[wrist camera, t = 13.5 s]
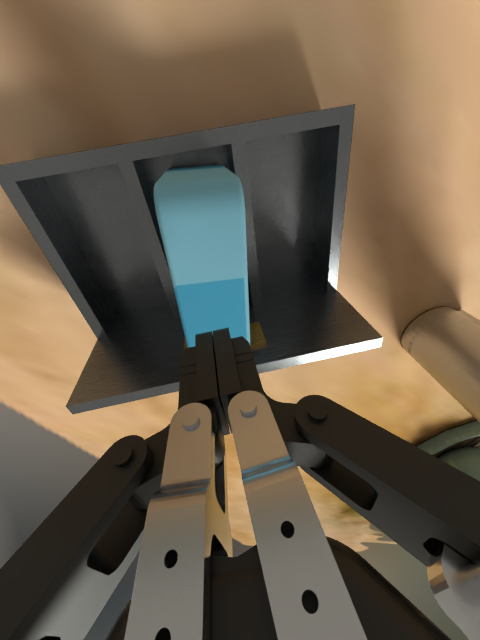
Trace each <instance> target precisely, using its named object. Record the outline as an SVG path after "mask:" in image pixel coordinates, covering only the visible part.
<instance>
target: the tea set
mask: <svg viewBox="0 0 480 640" xmlns="http://www.w3.org/2000/svg"><path fill="white" fill-rule="evenodd" d="M416 447H418V448H420V449H422V450H423V451H425V452H427V453H429V454H431V455H433V456H434V457H436V458H438V459H440V460H442V461H444V462H445V463H447V464H449V465H451V466H453V467H455V468H456V469H458V470H460V471H462V472H464V473H466V474H468V475H469V476H471V477H473V478H475V479H477V480H479V481H480V423H479V422H478V421H474V422H471V423H468V424H465V425H462V426H459V427H456V428H452V429H449V430H446V431H444V432H442V433H440V434H439V435H437V436H435V437H433V438H431V439H429V440H427V441H425V442H424V443H422V444H420V445H418V446H416Z"/></svg>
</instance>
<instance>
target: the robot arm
mask: <svg viewBox="0 0 480 640" xmlns="http://www.w3.org/2000/svg"><path fill="white" fill-rule="evenodd" d="M401 344H402V347H403V348H404V349H405V350H406V351H407V352H408V353H409V354H410V355H411V356H412V357H413V358H414V359H415V360H416V361H417V362H418V363H419V364H420V365H421V366H422V367H423V368H424V369H425V370H426V371H427V372H428V373H429V374H430V375H431V376H432V377H433V378H434V379H435V380H436V381H437V382H438V383H439V384H440V385H441V386H442V387H443V388H444V389H445V390H446V391H447V392H449V393H450V394H451V395H452V396H453V397H454V398H455V399H456V400H457V401H458V402H459V403H460V404H461V405H462V406H463V407H464V408H465V409H466V410H467V411H468V412H469V413H470V414H471V415H472V416H473V417H474V418H475V419H476V420H477V421H478V422H479V423H480V320H478V319H476V318H475V317H473V316H472V315H470V314H468V313H467V312H465V311H463V310H458V311H456V310H454V309H453V308H450V307H439V308H435V309H432V310H429V311H427V312H425V313H424V314H422V315H420V316H419V317H418V318H416V319H415V320H414V321H413V322H412V323H411V324H410V325H409V326H408V327H407V329H406V330H405V332H404V334H403V336H402V340H401ZM180 368H181V369H180V384H179V405H178V411H177V412H176V413H175V414H174V416H173V417H172V419H171V423H170V424H169V425H168V426H167V427H166V428H165V429H163V430H162V431H160V432H158V433H156V434H154V435H153V436H151V437H149V438H147V439H145V440H144V439H143V438H142V437H140V436H137V435H130V436H126V437H124V438H122V439H120V440H118V441H117V442H115V443H114V444H113V445H112V446H111V447H110V448H109V449H108V450H107V451H106V452H105V454H104V455H103V456H102V457H101V458H100V459H99V460H98V461H97V462H96V464H95V465H94V466H93V467H92V468H91V469H90V470H89V471H88V473H87V474H86V475H85V476H84V477H83V478H82V479H81V480H80V481H79V482H78V484H77V485H76V486H75V487H74V488H73V489H72V490H71V491H70V492H69V494H68V495H67V496H66V497H65V498H64V499H63V500H62V501H61V502H60V503H59V505H58V506H57V507H56V508H55V509H54V510H53V511H52V512H51V514H50V515H49V516H48V517H47V518H46V519H45V520H44V521H43V522H42V523H41V525H40V526H39V527H38V528H37V529H36V530H35V531H34V532H33V534H32V535H31V536H30V537H29V538H28V539H27V540H26V541H25V542H24V543H23V545H22V546H21V547H20V548H19V549H18V550H17V551H16V552H15V553H14V555H13V556H12V557H11V558H10V559H9V560H8V561H7V562H6V564H5V565H4V566H3V567H2V568H1V569H0V640H83V639H84V637H85V636H86V634H87V633H88V631H89V629H90V628H91V626H92V624H93V623H94V621H95V620H96V618H97V617H98V615H99V613H100V612H101V610H102V609H103V607H104V606H105V604H106V602H107V600H108V599H109V597H110V596H111V594H112V593H113V591H114V590H115V588H116V586H117V585H118V583H119V581H120V580H121V578H122V576H123V575H124V574H125V572H126V571H127V569H128V567H129V566H130V564H131V563H132V561H133V559H134V558H135V556H136V555H137V553H138V551H139V550H140V554H139V560H138V565H137V571H136V577H135V582H134V588H133V593H132V599H131V600H130V602H129V603H128V604H127V605H126V607H125V608H124V609H123V611H122V612H121V614H120V615H119V617H118V618H117V620H116V622H115V623H114V625H113V627H112V628H111V631H110V632H109V634H108V636H107V637H106V639H105V640H451V639H450V638H448V636H447V635H446V634H444V633H443V632H442V631H441V630H440V629H439V628H438V627H437V626H436V625H435V624H434V623H433V622H432V621H430V620H429V619H428V618H427V617H426V616H425V615H424V614H423V613H422V612H421V611H420V610H419V609H417V608H416V607H415V606H414V605H413V604H412V603H411V602H410V601H409V600H408V599H407V598H406V597H405V596H404V595H402V594H401V593H400V592H399V591H398V590H397V589H396V588H395V587H394V586H393V585H392V584H390V583H389V582H388V581H387V580H386V579H385V578H384V577H383V576H382V575H381V574H380V573H379V572H378V571H377V570H376V569H374V568H373V567H372V566H371V565H370V564H369V563H368V562H367V561H366V560H365V559H363V558H362V557H361V556H360V555H359V554H358V553H356V552H355V551H354V550H352V549H351V548H349V547H348V546H346V545H344V544H343V543H341V542H339V541H337V540H335V539H332V538H330V537H326V536H325V534H324V531H323V529H322V526H321V524H320V521H319V519H318V516H317V514H316V511H315V509H314V507H313V504H312V502H311V499H310V497H309V494H308V492H307V489H306V487H305V484H304V482H303V479H302V477H301V474H300V472H299V470H298V468H297V466H300V467H301V468H302V469H303V470H304V471H305V472H306V473H308V474H309V475H310V476H311V477H313V478H314V479H315V480H317V481H318V482H319V483H320V484H322V485H323V486H324V487H326V488H327V489H328V490H329V491H331V492H332V493H333V494H334V495H336V496H337V497H338V498H340V499H341V500H342V501H343V502H345V503H346V504H347V505H349V506H350V507H351V508H352V509H354V510H355V511H356V512H358V513H359V514H360V515H361V516H363V517H364V518H365V519H367V520H368V521H369V522H370V523H372V524H373V525H374V526H376V527H377V528H378V529H379V530H381V531H382V532H383V533H385V534H386V535H387V536H388V537H390V538H391V539H393V540H394V541H395V542H396V543H397V544H399V545H400V546H401V547H403V548H404V549H405V550H406V551H408V552H409V553H410V554H412V555H413V556H414V557H415V558H417V559H418V560H419V561H421V562H422V563H423V564H425V565H426V566H427V567H428V569H427V570H428V571H427V572H428V579H429V584H430V587H431V590H432V592H433V594H434V596H435V598H436V600H437V602H438V603H439V605H440V606H441V608H442V609H443V611H444V612H445V613H446V614H447V616H448V617H449V618H451V620H452V621H453V622H454V623H455V624H456V625H457V626H458V627H459V628H460V629H461V630H462V631H463V632H464V634H465V635H466V636H467V637H468V639H469V640H480V481H479V480H477V479H475V478H473V477H471V476H469V475H468V474H466V473H464V472H462V471H460V470H458V469H456V468H455V467H453V466H451V465H449V464H447V463H445V462H444V461H442V460H440V459H438V458H436V457H434V456H433V455H431V454H429V453H427V452H425V451H423V450H422V449H420V448H418V447H416V446H414V445H412V444H411V443H409V442H407V441H405V440H403V439H401V438H400V437H398V436H396V435H394V434H392V433H390V432H389V431H387V430H385V429H383V428H381V427H379V426H378V425H376V424H374V423H372V422H370V421H368V420H367V419H365V418H363V417H361V416H359V415H357V414H356V413H354V412H352V411H350V410H348V409H346V408H345V407H343V406H341V405H339V404H337V403H335V402H334V401H332V400H330V399H328V398H326V397H323V396H320V395H309V396H306V397H304V398H302V399H301V400H299V402H298V403H297V404H292V403H282V402H277V401H275V400H273V399H271V398H270V397H268V396H267V395H266V394H265V392H264V391H263V388H262V385H261V381H260V378H259V375H258V371H257V368H256V364H255V361H254V357H253V354H252V351H251V347H250V344H249V342H248V341H247V340H246V339H245V338H244V337H243V336H240V337H236V338H231V337H230V332H229V327H228V328H223V329H219V330H214V331H213V334H212V331H210V332H205V333H200V334H196V335H195V346H194V347H189V348H186V349H185V351H184V353H183V354H182V356H181V362H180ZM229 427H230V430H231V433H233V437H234V442H235V446H236V451H237V455H238V459H239V464H240V468H241V473H242V480H243V485H244V490H245V494H246V499H247V503H248V508H249V512H250V517H251V521H252V526H253V530H254V535H255V539H256V544H257V545H255V546H253V547H252V548H250V549H249V550H247V551H246V552H244V553H243V554H241V555H239V556H238V557H233V554H232V537H231V529H230V523H229V516H228V496H227V470H226V454H225V443H224V435H227V434H230V432H229ZM140 548H141V549H140ZM177 557H178V558H177Z"/></svg>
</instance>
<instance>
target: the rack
mask: <svg viewBox="0 0 480 640" xmlns="http://www.w3.org/2000/svg"><path fill="white" fill-rule="evenodd" d="M354 109H355V104H353V105H348V106H342V107H336V108H330V109H324V110H319V111H313V112H307V113H301V114H295V115H290V116H284V117H278V118H272V119H266V120H261V121H255V122H249V123H243V124H237V125H232V126H226V127H220V128H214V129H208V130H203V131H197V132H191V133H185V134H179V135H174V136H168V137H162V138H156V139H150V140H145V141H139V142H133V143H127V144H121V145H116V146H110V147H104V148H98V149H93V150H87V151H81V152H75V153H69V154H64V155H58V156H52V157H46V158H40V159H35V160H29V161H23V162H17V163H11V164H6V165H0V185H1V186H2V188H3V189H4V191H5V193H6V194H7V196H8V197H9V199H10V200H11V202H12V204H13V205H14V207H15V208H16V210H17V212H18V213H19V215H20V216H21V218H22V220H23V221H24V223H25V224H26V226H27V227H28V229H29V231H30V232H31V234H32V235H33V237H34V239H35V240H36V242H37V243H38V245H39V247H40V248H41V250H42V251H43V253H44V254H45V256H46V258H47V259H48V261H49V262H50V264H51V266H52V267H53V269H54V270H55V272H56V274H57V275H58V277H59V278H60V280H61V281H62V283H63V285H64V286H65V288H66V289H67V291H68V293H69V294H70V296H71V297H72V299H73V301H74V302H75V304H76V305H77V307H78V308H79V310H80V312H81V313H82V315H83V316H84V318H85V320H86V321H87V323H88V324H89V326H90V327H91V329H92V331H93V332H94V334H95V335H96V337H97V339H98V340H97V342H96V344H95V346H94V348H93V350H92V352H91V355H90V357H89V359H88V361H87V363H86V365H85V367H84V369H83V371H82V373H81V376H80V378H79V380H78V382H77V384H76V386H75V388H74V390H73V392H72V394H71V397H70V399H69V401H68V403H67V405H66V407H67V408H68V409H69V411H70V412H71V413H72V414H76V413H80V412H85V411H90V410H94V409H99V408H103V407H108V406H112V405H117V404H122V403H126V402H131V401H135V400H140V399H144V398H149V397H154V396H158V395H163V394H167V393H172V392H176V391H179V384H180V369H181V368H180V362H181V356H182V354H183V353H184V351H185V349H186V348H187V343H186V339H185V335H184V331H183V326H182V322H181V318H180V314H179V309H178V305H177V301H176V297H175V292H174V288H173V284H172V280H171V275H170V271H169V267H168V262H167V258H166V254H165V250H164V245H163V241H162V237H161V233H160V228H159V224H158V220H157V215H156V209H155V202H154V185H155V183H156V182H157V181H158V180H159V179H160V177H161V176H162V175H163V174H164V173H165V172H166V171H167V170H168V168H173V167H187V166H200V165H214V164H221V165H223V166H224V167H226V168H227V169H228V170H230V171H231V172H232V173H234V174H235V175H236V176H238V177H239V179H240V181H241V184H242V188H243V194H244V202H245V217H246V243H247V269H248V295H249V322H250V347H251V351H252V354H253V357H254V361H255V364H256V368H257V371H258V374H259V373H263V372H268V371H272V370H277V369H282V368H286V367H291V366H295V365H300V364H304V363H309V362H314V361H318V360H323V359H327V358H332V357H336V356H341V355H346V354H350V353H355V352H359V351H364V350H368V349H373V348H378V347H381V343H382V340H383V337H382V336H381V335H380V334H379V333H378V332H377V331H376V330H375V329H374V328H373V327H372V326H371V325H370V324H369V323H368V322H367V321H366V320H365V319H364V318H363V317H362V316H361V315H360V314H359V313H358V312H357V311H356V310H355V309H354V308H353V306H352V305H351V304H350V303H349V302H348V301H347V300H346V299H345V298H344V297H343V296H342V295H341V294H340V293H339V292H338V291H337V290H336V287H337V278H338V268H339V258H340V248H341V238H342V228H343V218H344V208H345V198H346V189H347V179H348V169H349V159H350V149H351V139H352V129H353V119H354Z"/></svg>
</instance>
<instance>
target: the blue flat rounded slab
mask: <svg viewBox="0 0 480 640" xmlns="http://www.w3.org/2000/svg"><path fill="white" fill-rule="evenodd" d="M154 202H155V209H156V215H157V220H158V224H159V228H160V233H161V237H162V241H163V245H164V250H165V254H166V258H167V262H168V267H169V271H170V275H171V280H172V284H173V288H174V292H175V297H176V301H177V305H178V309H179V314H180V318H181V322H182V326H183V331H184V335H185V339H186V343H187V348H189V347H194V346H195V335H196V334H200V333H205V332H210V331H212V334H213V331H214V330H219V329H223V328H228V327H229V332H230V337H231V338H236V337H240V336H243V337H244V338H245V339H246V340H247V341H248V342H249V344H250V322H249V295H248V269H247V243H246V217H245V202H244V194H243V188H242V184H241V181H240V179H239V177H238V176H236V175H235V174H234V173H232V172H231V171H230V170H228V169H227V168H226V167H224V166H223V165H221V164H214V165H200V166H187V167H173V168H168V170H167V171H166V172H165V173H164V174H163V175H162V176H161V177H160V179H159V180H158V181H157V182H156V183H155V185H154Z"/></svg>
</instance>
